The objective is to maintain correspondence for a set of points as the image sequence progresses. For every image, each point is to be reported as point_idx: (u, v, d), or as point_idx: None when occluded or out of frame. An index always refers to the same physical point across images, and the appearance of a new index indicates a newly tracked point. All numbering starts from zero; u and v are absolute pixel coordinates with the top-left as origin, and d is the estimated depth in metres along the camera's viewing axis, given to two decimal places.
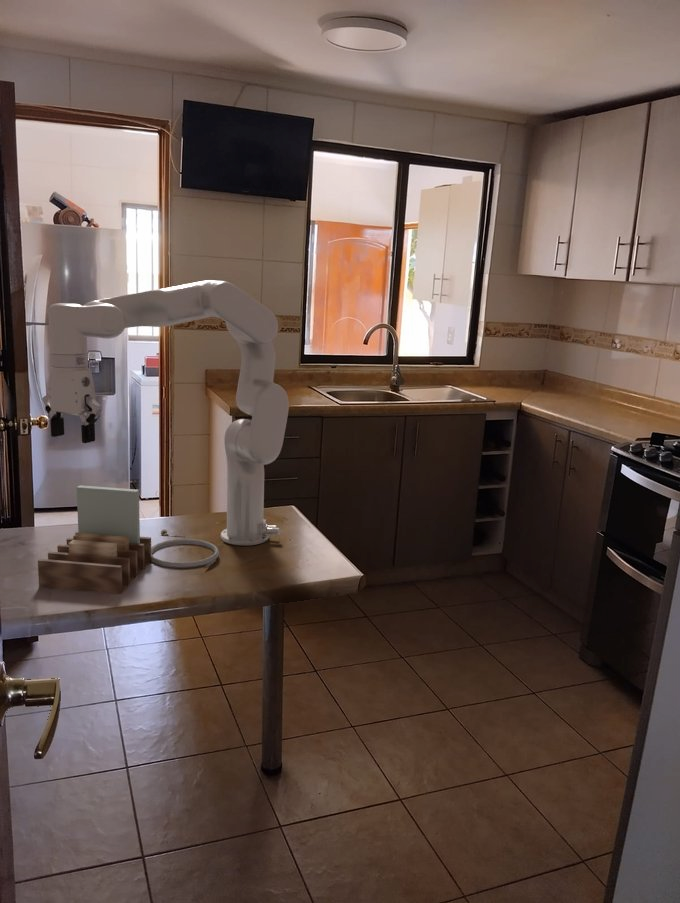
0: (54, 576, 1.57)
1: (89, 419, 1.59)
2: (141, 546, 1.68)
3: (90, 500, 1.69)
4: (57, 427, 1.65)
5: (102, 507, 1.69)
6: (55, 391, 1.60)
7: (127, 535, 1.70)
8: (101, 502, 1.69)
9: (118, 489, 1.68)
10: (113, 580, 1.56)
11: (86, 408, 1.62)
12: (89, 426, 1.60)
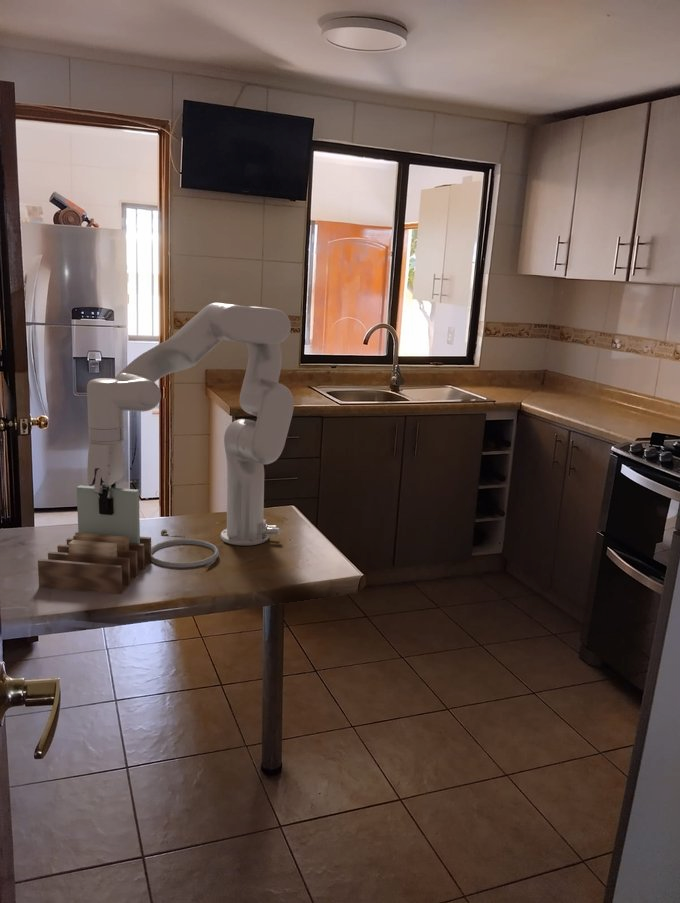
0: (54, 576, 1.57)
1: None
2: (141, 546, 1.68)
3: (90, 500, 1.69)
4: None
5: None
6: (113, 465, 1.65)
7: (127, 535, 1.70)
8: None
9: (118, 489, 1.68)
10: (113, 580, 1.56)
11: None
12: None
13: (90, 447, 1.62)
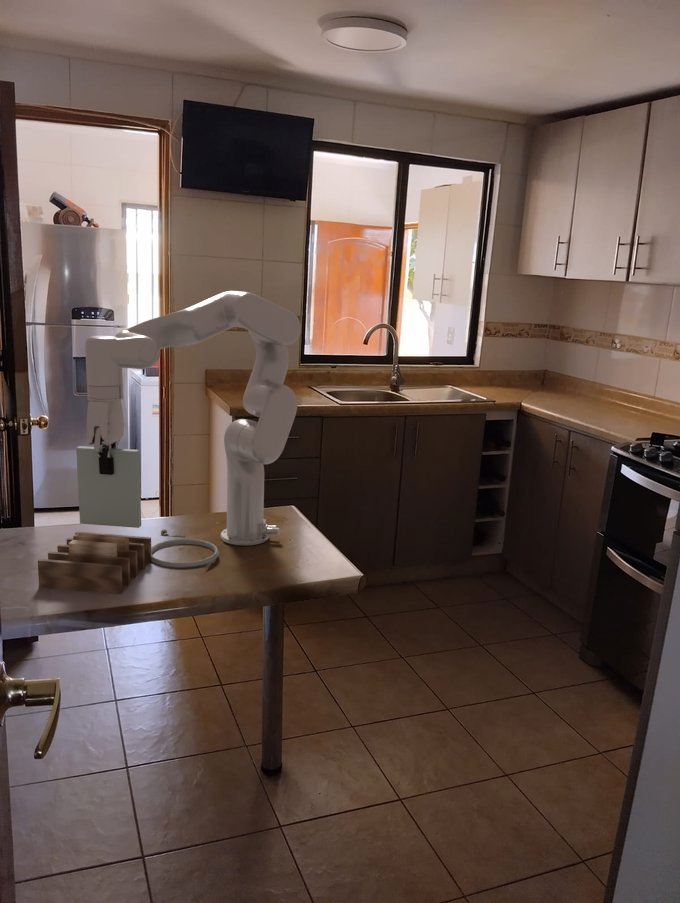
0: (54, 576, 1.57)
1: None
2: (141, 546, 1.68)
3: (89, 461, 1.67)
4: None
5: None
6: (113, 423, 1.63)
7: (128, 496, 1.68)
8: None
9: (118, 449, 1.66)
10: (113, 580, 1.56)
11: None
12: None
13: (89, 405, 1.60)
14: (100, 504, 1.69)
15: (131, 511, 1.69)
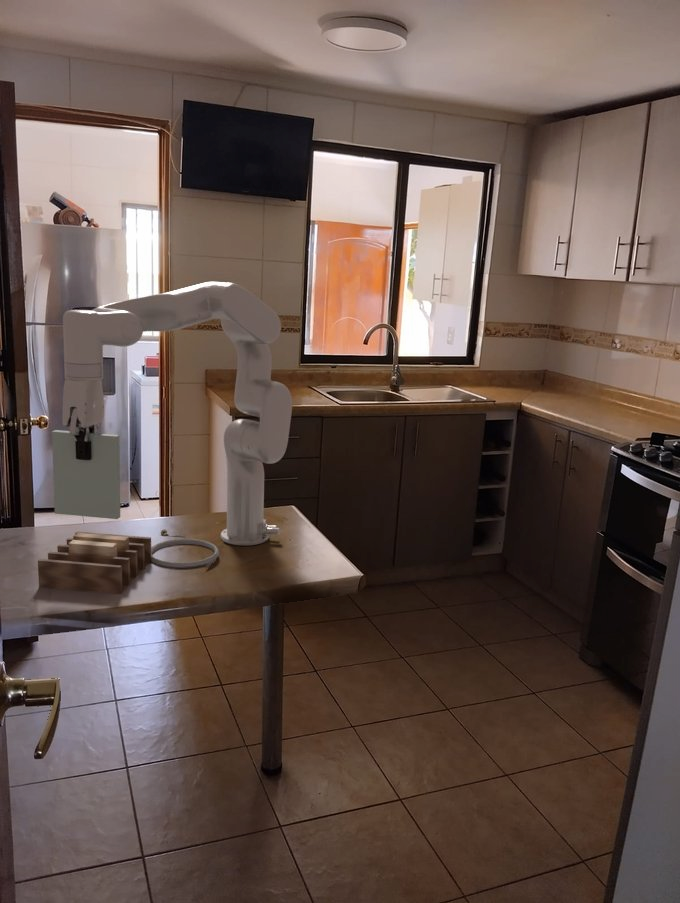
0: (54, 576, 1.57)
1: None
2: (141, 546, 1.68)
3: (66, 446, 1.55)
4: None
5: None
6: (91, 404, 1.51)
7: (106, 485, 1.56)
8: None
9: (97, 434, 1.55)
10: (113, 580, 1.56)
11: None
12: None
13: (65, 383, 1.49)
14: (76, 493, 1.57)
15: (109, 501, 1.57)
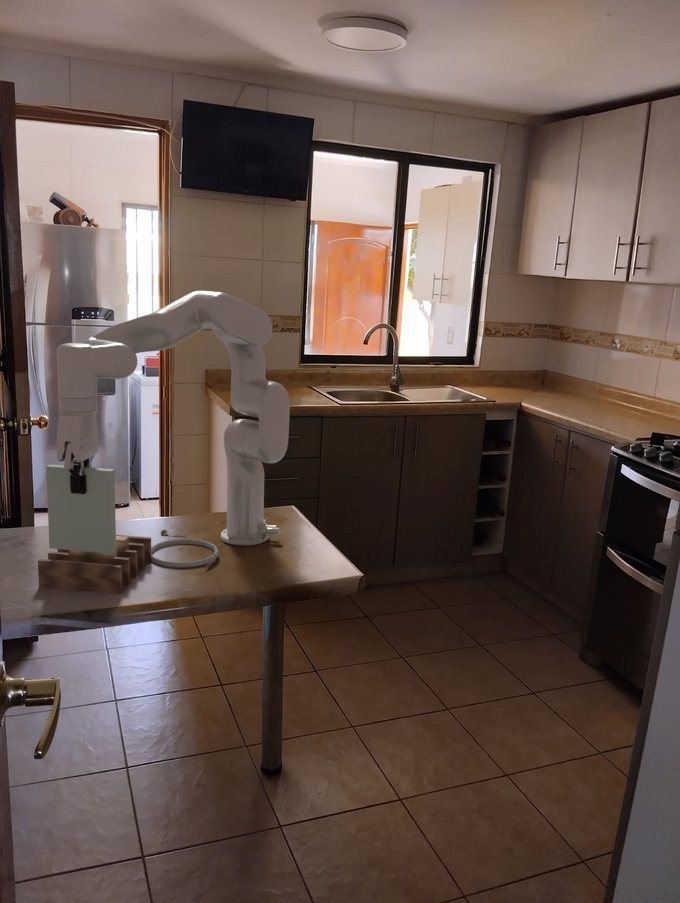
0: (54, 576, 1.57)
1: None
2: (141, 546, 1.68)
3: (60, 481, 1.54)
4: None
5: None
6: (86, 438, 1.50)
7: (101, 519, 1.55)
8: None
9: (92, 468, 1.54)
10: (113, 580, 1.56)
11: None
12: None
13: (60, 418, 1.47)
14: (71, 528, 1.56)
15: (105, 535, 1.56)
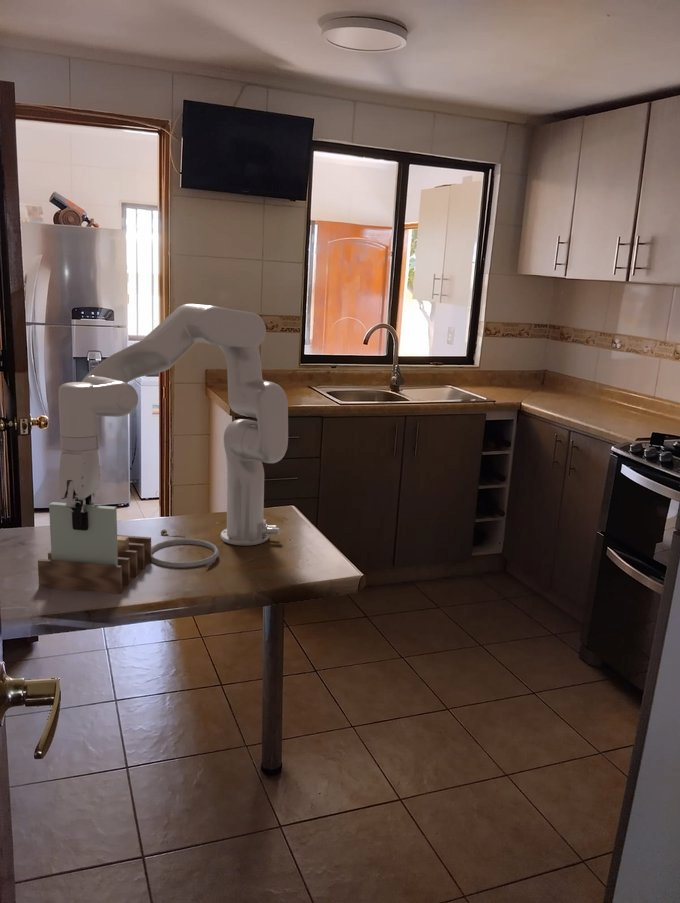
0: (54, 576, 1.57)
1: None
2: (141, 546, 1.68)
3: (63, 518, 1.56)
4: None
5: None
6: (88, 476, 1.52)
7: (104, 556, 1.57)
8: None
9: (94, 506, 1.56)
10: (113, 580, 1.56)
11: None
12: None
13: (62, 457, 1.49)
14: None
15: None
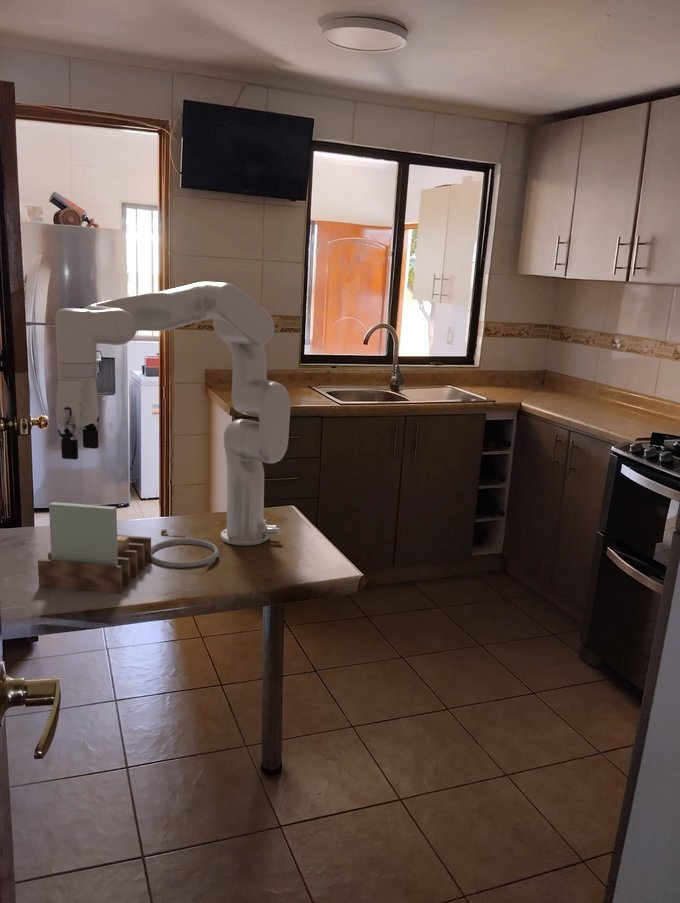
0: (54, 576, 1.57)
1: (96, 422, 1.58)
2: (141, 546, 1.68)
3: (63, 518, 1.56)
4: None
5: (77, 526, 1.56)
6: (85, 404, 1.49)
7: (104, 556, 1.57)
8: (76, 521, 1.56)
9: (94, 506, 1.56)
10: (113, 580, 1.56)
11: None
12: None
13: (59, 383, 1.46)
14: None
15: None
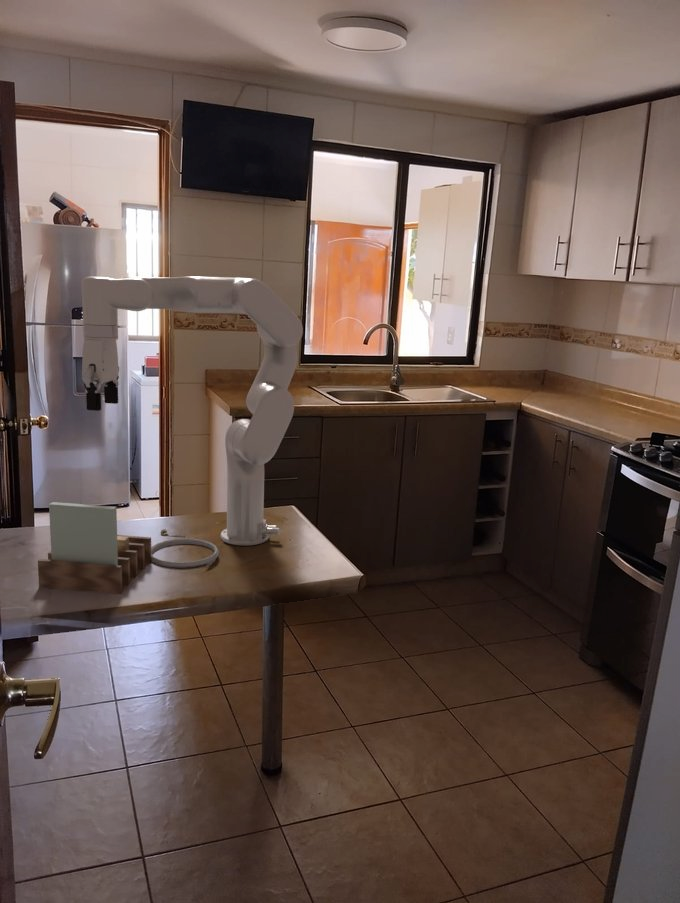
0: (54, 576, 1.57)
1: None
2: (141, 546, 1.68)
3: (63, 518, 1.56)
4: None
5: (77, 526, 1.56)
6: (108, 362, 1.68)
7: (104, 556, 1.57)
8: (76, 521, 1.56)
9: (94, 506, 1.56)
10: (113, 580, 1.56)
11: None
12: None
13: (85, 343, 1.65)
14: None
15: None
